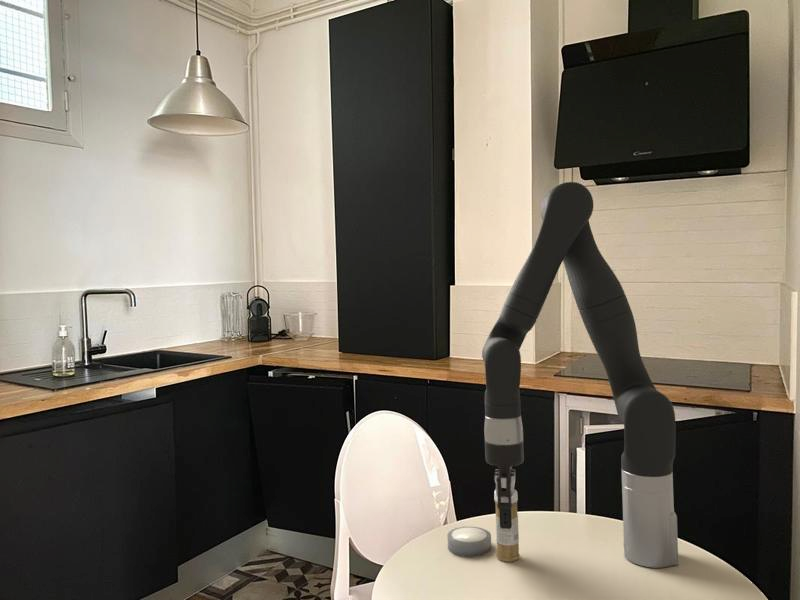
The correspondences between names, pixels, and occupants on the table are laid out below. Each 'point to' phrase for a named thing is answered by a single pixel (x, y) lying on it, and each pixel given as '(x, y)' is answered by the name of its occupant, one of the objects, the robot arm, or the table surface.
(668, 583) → the table surface
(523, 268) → the robot arm
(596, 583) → the table surface
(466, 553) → the stand
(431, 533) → the table surface
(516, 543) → the sprinkles bottle
